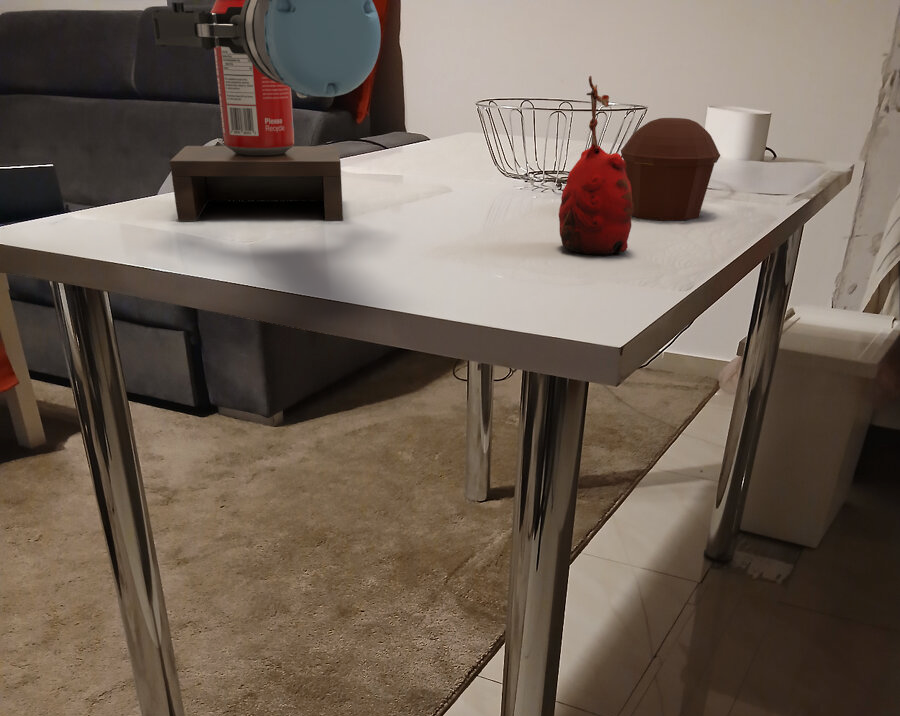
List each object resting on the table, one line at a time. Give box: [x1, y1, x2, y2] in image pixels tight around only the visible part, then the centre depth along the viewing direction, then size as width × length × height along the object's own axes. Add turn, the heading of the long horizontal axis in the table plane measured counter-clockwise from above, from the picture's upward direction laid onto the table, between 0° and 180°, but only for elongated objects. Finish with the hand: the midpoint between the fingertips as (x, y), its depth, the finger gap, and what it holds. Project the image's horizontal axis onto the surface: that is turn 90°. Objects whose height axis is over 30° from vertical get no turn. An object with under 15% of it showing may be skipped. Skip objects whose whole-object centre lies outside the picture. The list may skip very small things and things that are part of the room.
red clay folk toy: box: [558, 75, 634, 256], centre depth 85 cm, size 8×7×15 cm
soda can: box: [210, 0, 295, 156], centre depth 98 cm, size 8×8×15 cm
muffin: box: [620, 117, 721, 221], centre depth 105 cm, size 12×11×10 cm
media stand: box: [169, 145, 344, 222], centre depth 104 cm, size 18×14×6 cm
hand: (258, 29), depth 88 cm, fingers open, 13 cm apart
